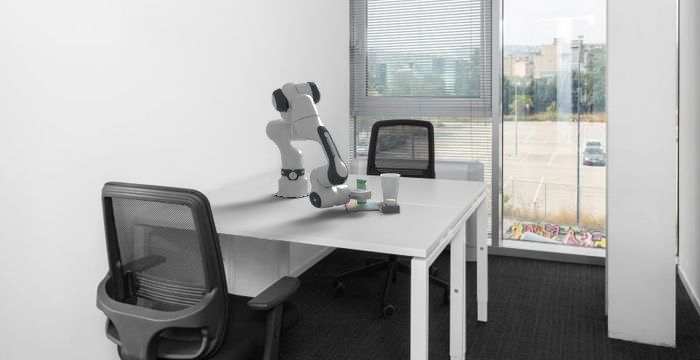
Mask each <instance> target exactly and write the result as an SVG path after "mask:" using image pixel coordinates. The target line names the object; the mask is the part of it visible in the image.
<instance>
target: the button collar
mask: <svg viewBox="0 0 700 360" xmlns="http://www.w3.org/2000/svg"><path fill="white" fill-rule="evenodd" d="M380 207H381V209H380V210H381V212H383V214H391V213H392V214H394V213H395V214H396V213H400V212H401V206H400V204H399V203H398V202H396V205H393V206H386V205H385V202H382V203H381V206H380Z"/></svg>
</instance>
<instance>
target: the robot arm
mask: <svg viewBox="0 0 700 360" xmlns="http://www.w3.org/2000/svg"><path fill="white" fill-rule="evenodd" d="M321 96H322V95H321V90H320V86H318V84H317V83H316V82H315V81H307V82H300V83H295V82H287V83H284V84H283V85H282V86H281V88H277V89H275V90H274V91H272V94H271V103H272V106H273V108H274V109H275V111H277V112H278V113H279V115H280V117H281V118H278V119H273V120H269V121H268V122H267V124H266V126H265V134H266V136H267V138H268V139H269V140H271V141H272V142H273V143H274V144H275V145H276V146H277V148H278V150H279V153H280V159H281V168H280V175H281V177H280V178H278V182H277V183H278V184H277V185H278V188H277V190H278V191H277V192H276V193H274V196H275V195H277V196H276V197H280V196H283V197H282V198H287V197H296V198H303V196H304V197H308V198H309V201H310V204H311V205H312V206H313V207H314V208H317V209H329V208H332V207H334V206H336V207H337V206H343V205H345V204H347V203H351V202H350V201H351V200H355V201H357V200H371V199H372V190H369V189H368V188H366V189H365V190H363V189H357V187H350V186H348V185H346V184H345V183H346V182H347V180H348V178H349V169H348V167H347V165H346V163H345V162H344V161H343V158H342V156H341V154H340V151H339V149H338V147H337V145H336V142H335V140H334V138H333V136H332V134H331V131H330V130H329V128H328V127H327V126H325V125H324V124H323V122H322V121H321V118H320V117H321V116H320V115H319V111H318V108H317V104H319V102H320V100H321ZM293 141H294V142H299V141H300V142H301V141H304V142H305V141H313V142H317V144H319V145H320V147H321V148H322V152H323V153H324V156H325V158H326V161H327V163H326V164H325V165H321V166H319V167H316V168H314V169H313V170H311V172H310V173H309V174H310V176H309V181H310V184H311V189H310V190H309V182H308V178H307V177H306V174H305V173H306V171H305V169H306V168H305V166H304V165H305V163H304V159H305V158H304V153H303V151H302V149H299V148H298V147H296V146H293V145H292V143H291V142H293ZM307 195H308V196H307Z"/></svg>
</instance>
